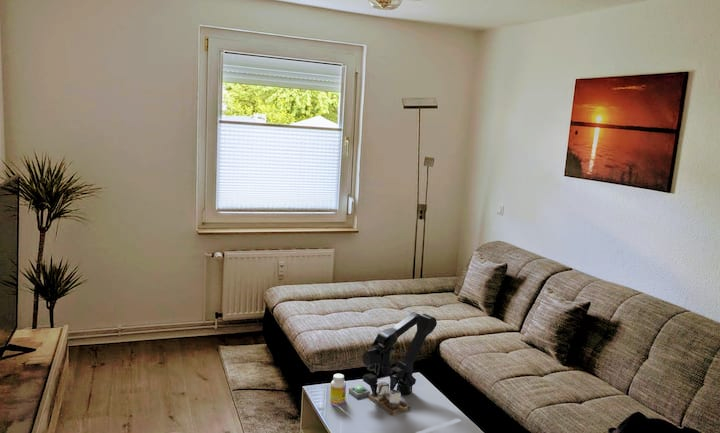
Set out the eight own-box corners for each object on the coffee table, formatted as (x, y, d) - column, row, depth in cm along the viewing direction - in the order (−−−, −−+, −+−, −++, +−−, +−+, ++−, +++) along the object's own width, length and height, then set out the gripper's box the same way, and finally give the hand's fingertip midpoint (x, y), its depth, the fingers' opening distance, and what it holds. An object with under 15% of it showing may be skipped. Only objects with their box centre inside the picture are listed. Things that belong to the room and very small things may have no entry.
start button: (360, 391, 259) (360, 384, 258) (365, 395, 255) (366, 388, 255) (352, 393, 257) (352, 386, 256) (357, 397, 253) (358, 390, 252)
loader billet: (395, 403, 248) (396, 388, 246) (402, 408, 243) (403, 393, 242) (386, 406, 245) (386, 391, 244) (393, 411, 241) (393, 396, 240)
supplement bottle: (343, 407, 245) (344, 379, 243) (328, 405, 246) (329, 378, 244) (346, 400, 251) (347, 373, 249) (332, 398, 253) (333, 371, 251)
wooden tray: (384, 395, 258) (384, 389, 258) (409, 412, 243) (409, 406, 243) (367, 399, 253) (367, 394, 252) (391, 417, 238) (392, 411, 237)
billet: (383, 395, 255) (384, 381, 254) (390, 400, 251) (391, 385, 250) (374, 398, 252) (375, 383, 251) (381, 403, 248) (382, 388, 247)
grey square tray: (361, 391, 261) (361, 385, 260) (369, 397, 255) (370, 391, 255) (348, 394, 257) (348, 388, 257) (356, 401, 251) (357, 394, 251)
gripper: (390, 350, 260) (388, 382, 263) (356, 358, 250) (355, 391, 252) (405, 359, 251) (403, 392, 254) (370, 367, 241) (369, 401, 243)
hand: (382, 393), depth 251 cm, fingers open, 9 cm apart
